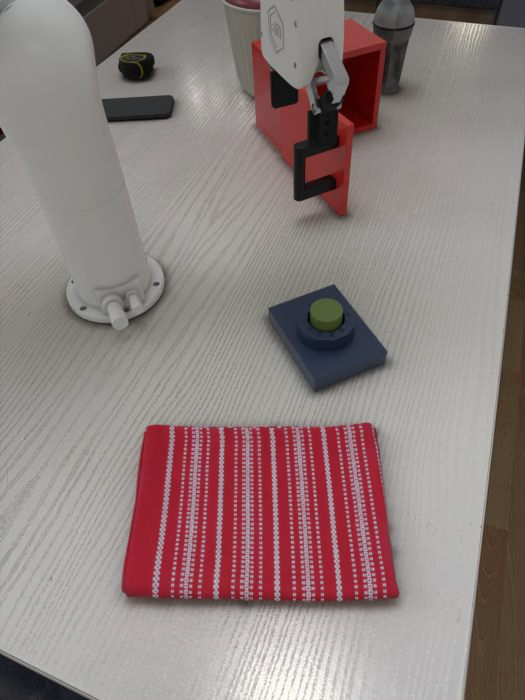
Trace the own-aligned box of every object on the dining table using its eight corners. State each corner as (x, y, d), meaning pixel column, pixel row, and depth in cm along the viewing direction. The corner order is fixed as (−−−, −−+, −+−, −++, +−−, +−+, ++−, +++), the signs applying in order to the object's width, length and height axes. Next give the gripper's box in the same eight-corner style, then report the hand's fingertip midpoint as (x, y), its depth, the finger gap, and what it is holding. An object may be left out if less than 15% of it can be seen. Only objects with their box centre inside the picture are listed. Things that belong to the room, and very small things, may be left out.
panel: (385, 363, 61) (389, 340, 58) (314, 392, 59) (315, 370, 56) (333, 296, 69) (335, 272, 65) (268, 320, 67) (267, 296, 63)
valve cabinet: (376, 128, 94) (387, 41, 83) (282, 155, 90) (281, 68, 79) (344, 101, 100) (350, 18, 90) (256, 126, 96) (251, 41, 86)
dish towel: (149, 429, 57) (144, 416, 55) (375, 428, 56) (378, 414, 54) (119, 602, 46) (111, 593, 44) (398, 605, 45) (403, 596, 43)
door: (302, 230, 77) (303, 140, 66) (247, 169, 88) (241, 83, 77) (346, 214, 79) (354, 123, 68) (287, 156, 89) (286, 70, 79)
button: (347, 325, 61) (349, 314, 59) (319, 336, 60) (319, 325, 58) (332, 304, 63) (332, 294, 61) (304, 315, 62) (304, 304, 61)
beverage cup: (357, 91, 103) (369, -34, 87) (380, 77, 106) (394, -46, 91) (390, 102, 100) (407, -25, 84) (412, 87, 103) (433, -38, 87)
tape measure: (157, 67, 114) (153, 48, 111) (151, 82, 109) (147, 63, 106) (125, 68, 114) (120, 49, 111) (118, 83, 110) (113, 64, 107)
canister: (340, 90, 103) (349, -42, 87) (262, 121, 97) (255, -15, 81) (285, 59, 113) (283, -65, 97) (210, 85, 107) (195, -42, 91)
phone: (96, 99, 104) (173, 94, 103) (97, 103, 105) (174, 98, 104) (88, 118, 99) (169, 113, 99) (90, 122, 100) (170, 118, 99)
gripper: (228, -81, 51) (243, 99, 64) (305, -30, 41) (304, 173, 54) (300, -94, 53) (300, 84, 66) (393, -47, 42) (371, 154, 55)
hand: (302, 124), depth 60 cm, fingers open, 9 cm apart
